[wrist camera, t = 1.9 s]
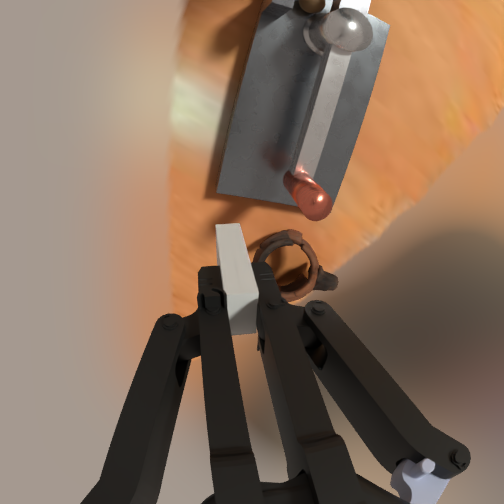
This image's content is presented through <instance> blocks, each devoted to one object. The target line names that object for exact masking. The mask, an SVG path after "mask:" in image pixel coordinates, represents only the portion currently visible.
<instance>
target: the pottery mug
mask: <svg viewBox="0 0 504 504" xmlns="http://www.w3.org/2000/svg"><path fill="white" fill-rule="evenodd" d="M293 243H294V244H297V245H299V246H300V247H301V250H303V251H304V252H305V253H306V255H307V256H308V258H309V260H310V264H311V265H310V268H309V270H308V279H307V278H306V277H305V276H304V275H303V274H300V276H299V277H298V278H297V279H296V280H295V281H294V282H292V283H290V284H288V285H285V286H278V288H279V291H280V293H281V296H282V297H283V298H285V299H286V301H287V302H291V301H295V300H298V299H300V298H302V297H304V296H305V295H306V294H308V293H309V292H311V291H312V290H323V291H327V290H335V289H336V288H337V285H338V278H337V277H336V276H335V275H333V274H330V273H328V272H325V271H323V268H322V266H320V265H319V263H318V260H317V257H316V254H315V252H314V251H313V249H312V247H311V246H310V245H309V244H308V243H307V242H306V241H305V240H304V239H302V233H300V232H299V231H296V230H292V229H290V230H287V231H286V230H283V231H281V232H278V233H276V234H274V235H272V236H270V237H269V238H267V239H266V240H265V241H264V242H262V243H261V244H260V247H261V248H260V249H257V251H256V253H255V255H254V258H253V262H252V263H255V262H265V260H266V258H267V257H268V255H269V254H270V253H271V252H272V251H274V250H275V249H277V248H279V247H282V246H293Z"/></svg>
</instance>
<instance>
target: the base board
mask: <svg viewBox="0 0 504 504" xmlns="http://www.w3.org/2000/svg"><path fill="white" fill-rule="evenodd" d="M325 2H326V5H325V8H324V9H323V10H322V11H321V12H318V13H309V12H306V11H304V10H303V9H302V8H301V7H300V5H299V0H263V2H262V5H261V9H260V12H259V15H258V19H257V22H256V25H255V29H254V32H253V36H252V39H251V43H250V46H249V50H248V53H247V57H246V61H245V64H244V68H243V72H242V76H241V79H240V83H239V87H238V91H237V95H236V99H235V103H234V107H233V111H232V115H231V119H230V123H229V128H228V132H227V136H226V141H225V145H224V149H223V154H222V158H221V163H220V168H219V172H218V177H217V182H216V193H221V194H227V195H234V196H240V197H247V198H253V199H259V200H265V201H270V202H276V203H282V204H287V205H293V206H298V205H297V204H296V202H295V201H294V199H293V198H292V196H291V195H290V194H289V192H288V191H287V189H286V188H285V187H284V185H283V177H284V174H285V173H286V172H287V171H288V170H289V168H290V164H291V161H292V158H293V154H294V151H295V148H296V144H297V141H298V138H299V134H300V131H301V128H302V124H303V121H304V117H305V114H306V111H307V107H308V104H309V100H310V97H311V94H312V90H313V87H314V83H315V80H316V76H317V73H318V69H319V66H320V63H321V59H322V56H323V52H322V51H320V50H319V49H317V48H316V47H315V46H314V45H313V43H312V42H311V40H310V38H309V32H308V31H309V26H310V24H311V22H312V21H313V20H314V19H316V18H318V17H320V16H322V15H325V14H327V13H329V12H330V10H331V6H332V2H333V0H325ZM367 19H368V20H369V22H370V24H371V26H372V30H373V38H372V41H371V43H370V45H369V46H368V47H367V48H366V49H364V50H361V51H355V52H352V54H351V57H350V61H349V64H348V68H347V71H346V75H345V78H344V82H343V85H342V88H341V92H340V95H339V98H338V102H337V105H336V108H335V112H334V115H333V118H332V121H331V124H330V128H329V131H328V134H327V137H326V140H325V143H324V147H323V150H322V153H321V156H320V159H319V162H318V165H317V168H316V171H315V174H314V177H313V180H314V181H315V182H316V183H317V184H318V185H319V186H320V187H321V188H322V189H323V190H324V191H325V192H326V193H327V194H328V195H329V196H330V197H331V199H332V203H333V205H334V202H335V199H336V197H337V194H338V191H339V189H340V186H341V183H342V180H343V178H344V175H345V172H346V169H347V166H348V163H349V161H350V158H351V155H352V152H353V149H354V146H355V143H356V140H357V137H358V134H359V131H360V128H361V125H362V122H363V119H364V116H365V112H366V109H367V106H368V103H369V100H370V96H371V93H372V90H373V86H374V83H375V80H376V76H377V73H378V69H379V66H380V62H381V58H382V55H383V51H384V47H385V43H386V40H387V36H388V32H389V28H390V25H388V24H387V23H385V22H383V21H381V20H380V19H378V18H376V17H374V16H372V15H370V14H367ZM332 207H333V206H332ZM330 213H331V212H330Z"/></svg>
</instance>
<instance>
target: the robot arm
mask: <svg viewBox="0 0 504 504" xmlns="http://www.w3.org/2000/svg"><path fill="white" fill-rule="evenodd" d="M216 249H217V265H218V266H206V267H201V269H200V270H199V272H198V289H199V293H198V295H197V302H198V309H197V310H196V311H195V312H194V313H193V314H191V315H189V316H186V317H183V318H182V317H181V316H179V315H177V314H166V315H163V316H161V317H160V318H159V319H158V320H157V321H156V323H155V326H154V328H153V331H152V333H151V336H150V338H149V341H148V343H147V345H146V348H145V350H144V353H143V355H142V358H141V361H140V363H139V366H138V368H137V371H136V373H135V376H134V379H133V381H132V384H131V387H130V390H129V392H128V395H127V398H126V401H125V403H124V406H123V409H122V412H121V414H120V417H119V420H118V423H117V426H116V429H115V432H114V435H113V438H112V441H111V444H110V447H109V450H108V454H107V457H106V460H105V463H104V467H103V470H102V474H101V477H100V480H99V481H98V482H97V484H96V485H95V486H94V488H93V489H92V490H91V491H90V492H89V494H88V495H87V496H86V497H85V498H84V500H83V501H82V502H81V503H80V504H156V503H157V499H158V496H159V493H160V489H161V484H162V479H163V474H164V470H165V466H166V461H167V457H168V453H169V448H170V444H171V440H172V435H173V431H174V427H175V423H176V419H177V415H178V411H179V407H180V403H181V398H182V395H183V390H184V386H185V382H186V379H187V375H188V371H189V367H190V363H191V359H192V358H195V357H198V356H201V362H202V376H203V388H204V400H205V410H206V421H207V430H208V438H209V448H210V464H211V471H212V480H213V487H214V494H212V495H211V496H209V497H208V498H206V499H205V500H204V501H203V502H202V503H201V504H436V503H437V501H438V500H439V498H440V496H441V494H442V493H443V491H444V489H445V487H446V485H447V484H448V482H449V480H450V479H451V478H452V477H454V476H456V475H458V474H460V473H461V472H463V471H464V470H466V469H467V467H468V466H469V463H470V459H471V457H470V452H469V450H468V448H467V447H466V446H465V445H463V444H462V443H460V442H458V441H456V440H455V439H453V438H451V437H450V436H448V435H446V434H445V433H443V432H441V431H440V430H438V429H436V428H435V427H433V426H432V425H431V424H430V423H429V422H428V420H427V419H426V418H425V417H424V416H423V414H422V413H421V412H420V411H419V409H418V408H417V407H416V406H415V405H414V403H413V402H412V401H411V400H410V399H409V397H408V396H407V395H406V394H405V393H404V391H403V390H402V389H401V388H400V387H399V385H398V384H397V383H396V382H395V381H394V379H393V378H392V377H391V376H390V375H389V373H388V372H387V371H386V370H385V369H384V368H383V366H382V365H381V364H380V363H379V362H378V361H377V359H376V358H375V357H374V356H373V355H372V354H371V352H370V351H369V350H368V349H367V348H366V347H365V345H364V344H363V343H362V342H361V341H360V340H359V338H358V337H357V336H356V335H355V334H354V333H353V331H352V330H351V329H350V328H349V327H348V326H347V325H346V323H345V322H344V321H343V320H342V319H341V318H340V317H339V315H338V314H337V313H336V312H335V311H334V310H333V309H332V307H331V306H330V305H328V304H327V303H326V302H323V301H319V300H314V301H310V302H308V303H307V304H306V306H305V307H301V306H295V305H291V304H289V303H288V302H287V301H286V299H285V298H283V297H282V296H281V293H280V291H279V288H278V285H277V282H276V280H275V277H274V274H273V271H272V269H271V267H270V266H269V265H268V264H267V263H266V262H255V263H250V259H249V255H248V252H247V248H246V245H245V241H244V237H243V234H242V230H241V226H240V223H234V224H216ZM256 329H257V330H258V345H257V350H258V351H259V350H260V352H261V357H262V361H263V364H264V369H265V374H266V378H267V382H268V386H269V390H270V394H271V399H272V403H273V407H274V411H275V415H276V419H277V424H278V428H279V432H280V435H281V440H282V444H283V447H284V452H285V456H286V460H287V473H288V478H289V480H288V481H286V482H284V483H271V482H260V480H259V475H258V470H257V466H256V461H255V457H254V453H253V452H252V448H251V443H250V438H249V433H248V428H247V423H246V417H245V412H244V406H243V401H242V396H241V389H240V384H239V378H238V372H237V366H236V360H235V354H234V348H233V342H232V335H241V334H252V333H256ZM312 369H313V370H314V372H315V373H316V375H317V376H318V378H319V379H320V381H321V382H322V383H323V385H324V386H325V388H326V389H327V390H328V392H329V393H330V395H331V396H332V398H333V399H334V401H335V402H336V403H337V405H338V406H339V408H340V409H341V411H342V412H343V413H344V415H345V416H346V418H347V419H348V420H349V422H350V423H351V425H352V426H353V427H354V429H355V430H356V432H357V433H358V435H359V436H360V437H361V439H362V440H363V442H364V443H365V444H366V446H367V447H368V449H369V450H370V451H371V452H372V454H373V455H374V457H375V458H376V459H377V461H378V462H379V463H380V464H381V465H382V466H383V467H384V468H385V469H386V470H387V471H389V472H390V473H391V474H392V477H391V482H390V483H391V484H390V485H391V486H392V488H394V489H395V490H397V492H398V493H399V496H400V498H399V497H397V496H395V495H393V494H391V493H390V492H388V491H386V490H384V489H382V488H381V487H379V486H377V485H375V484H373V483H372V482H370V481H368V480H367V479H365V478H363V477H362V476H360V475H358V474H356V473H355V470H354V467H353V464H352V461H351V459H350V456H349V453H348V450H347V447H346V444H345V442H344V440H343V439H342V437H341V436H340V435H338V434H336V433H335V431H334V429H333V426H332V423H331V420H330V418H329V415H328V412H327V409H326V406H325V404H324V401H323V398H322V395H321V392H320V389H319V386H318V384H317V381H316V378H315V375H314V373H313V370H312Z"/></svg>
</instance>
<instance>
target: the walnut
mask: <svg viewBox="0 0 504 504" xmlns="http://www.w3.org/2000/svg"><path fill="white" fill-rule="evenodd" d="M299 5H300V7H301V8H302V9H303V10H304V11H306V12H309V13H318V12H321V11H322V10H323V9H324V8H325V5H326V2H325V0H299Z"/></svg>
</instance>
